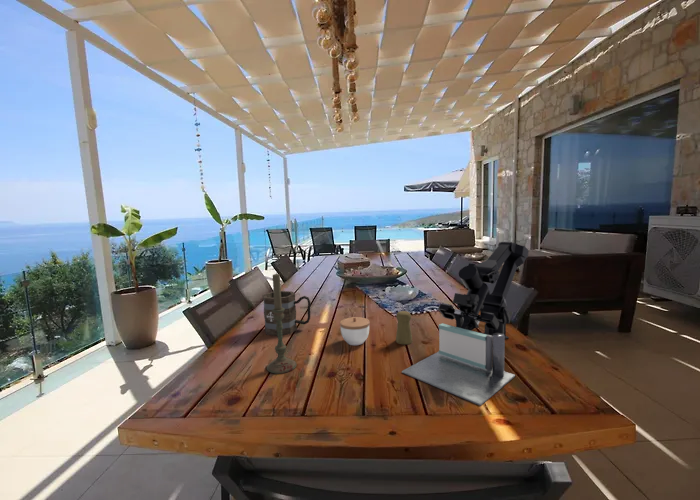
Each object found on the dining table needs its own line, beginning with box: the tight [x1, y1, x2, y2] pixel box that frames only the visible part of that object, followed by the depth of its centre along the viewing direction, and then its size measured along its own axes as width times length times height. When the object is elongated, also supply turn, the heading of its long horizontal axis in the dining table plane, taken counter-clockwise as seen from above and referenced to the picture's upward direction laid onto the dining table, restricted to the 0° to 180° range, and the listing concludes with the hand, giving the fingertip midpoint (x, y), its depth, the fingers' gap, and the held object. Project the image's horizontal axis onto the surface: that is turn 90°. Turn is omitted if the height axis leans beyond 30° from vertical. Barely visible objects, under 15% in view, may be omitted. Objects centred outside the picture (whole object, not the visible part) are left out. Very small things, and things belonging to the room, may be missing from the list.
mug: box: [262, 290, 312, 337], centre depth 137 cm, size 20×14×15 cm
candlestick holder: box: [266, 272, 298, 375], centre depth 102 cm, size 9×9×30 cm
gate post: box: [401, 333, 516, 406], centre depth 94 cm, size 24×20×12 cm
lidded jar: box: [339, 316, 370, 346], centre depth 121 cm, size 11×11×9 cm
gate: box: [438, 322, 493, 371], centre depth 100 cm, size 17×2×10 cm, turn 42°
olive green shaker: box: [395, 310, 413, 345], centre depth 120 cm, size 6×6×11 cm
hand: (457, 338), depth 104 cm, fingers closed
